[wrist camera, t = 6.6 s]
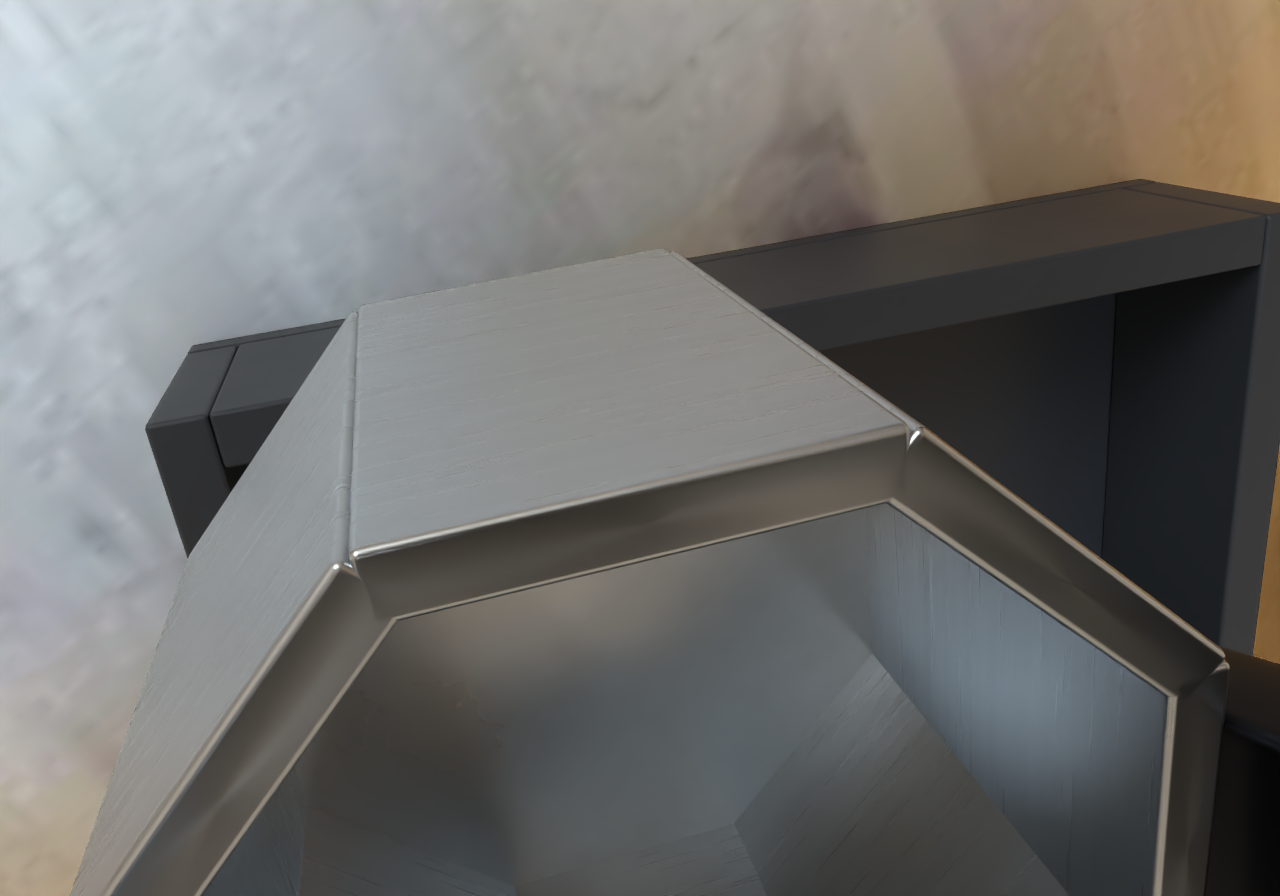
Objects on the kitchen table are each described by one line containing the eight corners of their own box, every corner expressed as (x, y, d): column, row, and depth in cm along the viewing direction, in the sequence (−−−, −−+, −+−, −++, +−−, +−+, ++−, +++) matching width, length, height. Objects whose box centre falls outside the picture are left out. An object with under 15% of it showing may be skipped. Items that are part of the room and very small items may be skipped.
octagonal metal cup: (871, 206, 9) (1269, 342, 5) (898, 776, 12) (1179, 1171, 8) (111, 350, 8) (-150, 666, 4) (321, 943, 11) (290, 1503, 7)
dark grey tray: (1140, 177, 20) (1312, 206, 16) (1102, 779, 26) (1223, 900, 22) (190, 344, 17) (142, 426, 13) (383, 986, 23) (386, 1167, 19)
